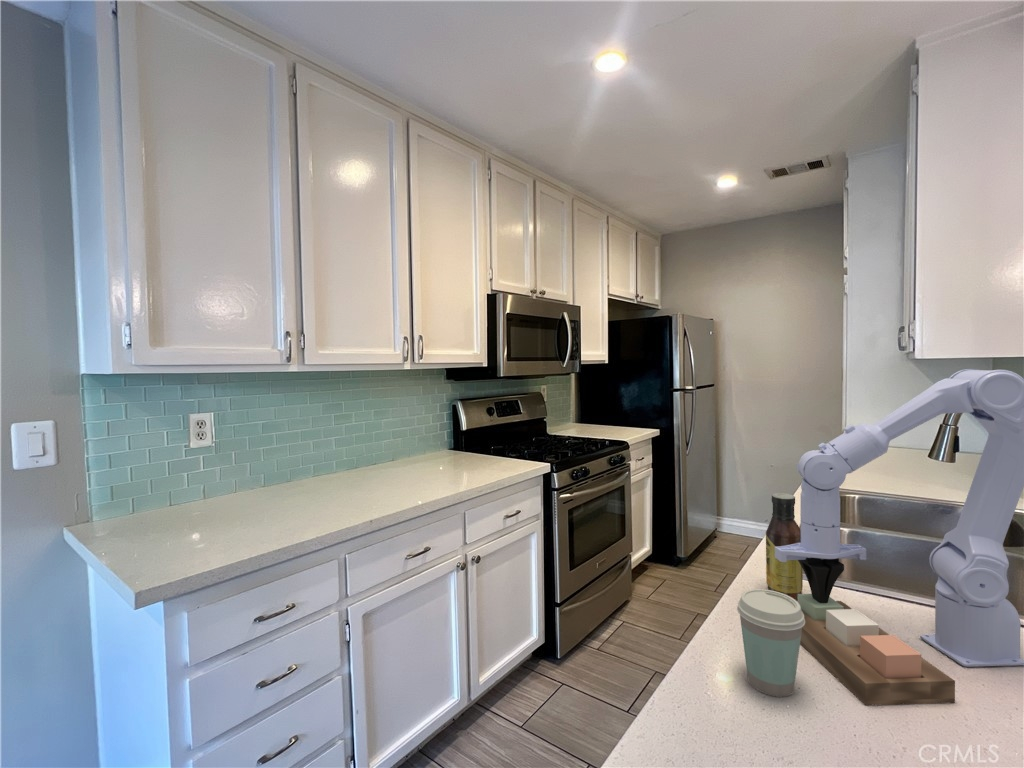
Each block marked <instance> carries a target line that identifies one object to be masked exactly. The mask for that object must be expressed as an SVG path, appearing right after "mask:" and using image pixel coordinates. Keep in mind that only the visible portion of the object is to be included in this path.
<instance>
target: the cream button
mask: <svg viewBox="0 0 1024 768" xmlns="http://www.w3.org/2000/svg"><path fill="white" fill-rule="evenodd" d="M879 626H880V625H879V624H878V623H876V622H875V621H873V620H872V619H871V618H870V617H868V616H866V615H865V614H863V613H862V612H860V611H859V610H858V609H856V608H852V609H838V610H826V630H827V631H828V632H829V633H830V634H832V635H833V636H834V637H835V638H837V639H838V640H839V641H840V642H841V643H843V644H844V645H845V646H846V647H850V646H860V636H872V635H879V628H880V627H879Z"/></svg>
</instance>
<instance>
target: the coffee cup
mask: <svg viewBox="0 0 1024 768" xmlns="http://www.w3.org/2000/svg"><path fill="white" fill-rule="evenodd" d="M736 610H737V613H738V614H739V617H740V619H739V620H740V627H741V635H742V641H743V650H744V651H743V652H744V658H745V666H746V667H745V668H746V673H747V681H748V683H750V685H751V686H752V687H753V688H754V689H756V690H757V691H759V692H761V693H763V694H765V695H768V696H773V697H778V698H779V697H782V698H784V697H788V696H790V695H792V694H793V693H794V691H795V690H794V689H795V682H796V679H797V678H796V676H797V669H798V662H799V654H800V646H801V644H800V640H801V632H802V627H803V626H804V625H805V619H804V614H803V612H802V610H801V607H800V604H799V603H798V600H797V599H793V598H792V597H790V596H788V595H785V594H783V593H780V592H776V591H771V590H768V589H766V588H765V589H763V588H756V589H748V590H745V591H743V592H742V593H741V595H740V598H739V600H738V601H737V606H736Z"/></svg>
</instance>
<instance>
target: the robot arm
mask: <svg viewBox="0 0 1024 768" xmlns="http://www.w3.org/2000/svg"><path fill="white" fill-rule="evenodd" d="M965 413H966V414H970V415H971V416H973V417H974V419H976V421H978V423H979V424H980V425H981V426H982V427H983V428H984V429H985V431H986V432H987V433H988V437H987V439H986V441H985V445H984V448H983V450H982V454H981V456H980V458H979V461H978V464H977V466H976V471H975V474H974V476H973V478H972V482H971V484H970V487H969V490H968V494H967V495H966V498H965V502H964V504H963V506H962V510H961V512H960V516H959V519H958V521H957V525H956V526H955V528H952V529H951V530H950V531H947V532H946V533H945V534H944V536H943V538H942V539H943V540H942V541H941V543H940V544H939V545H938V546H936V547H934V548H933V550H932V551H931V552H930V555H929V558H928V560H929V561H928V562H929V566H930V568H931V570H932V571H933V572H934V574H936V575H937V578H938V579H937V582H936V583H935V587H934V588H935V592H934V593H935V594H934V596H935V598H934V601H935V602H934V603H935V604H934V606H935V610H934V613H935V614H934V615H935V616H934V624H935V625H934V633H928V634H927V633H926V634H920V635H919V638H920V639H921V640H923V641H924V642H926V643H927V644H929V645H931V646H932V647H934V648H935V649H937V650H938V651H940V653H943V654H944V655H945V656H947V657H949V658H950V659H952V660H954V662H956V663H958V664H959V665H960V666H963V667H966V668H967V667H969V668H970V667H971V668H972V667H974V668H975V667H1001V666H1002V667H1003V666H1004V667H1005V666H1024V659H1023V658H1021V623H1022V622H1021V618H1020V615H1019V613H1018V610H1017V609H1016V607H1015V606H1014V604H1013V603H1011V602H1010V600H1008V598H1007V596H1008V594H1009V589H1010V584H1009V581H1008V578H1007V573H1008V569H1009V567H1010V566H1009V565H1010V563H1009V559H1008V557H1007V554H1006V551H1005V548H1004V541H1005V538H1006V536H1007V533H1008V531H1009V528H1010V525H1011V523H1012V520H1013V517H1014V514H1015V511H1016V509H1017V506H1018V504H1019V501H1020V498H1021V495H1022V493H1023V489H1024V378H1023V377H1022V376H1021V375H1019V374H1018V373H1016V372H1014V371H1011V370H1007V369H994V370H989V369H987V370H981V369H976V368H968V369H965V368H964V369H961V370H958V371H957V372H954V373H953V374H951V375H950V377H948V378H943V379H941V380H939V381H937V382H935V383H934V384H932V385H931V386H929V387H928V388H927V389H925V390H923V391H922V392H921V393H919V394H918V395H916V396H914V397H913V398H911V399H909V401H907V402H906V403H904V404H903V405H900V407H897V409H895V410H894V411H892V412H890V413H889V414H888V415H886V416H885V417H883V418H881V419H880V420H878V421H876V422H875V423H873V424H868V423H858V424H856V425H855V426H854V425H853V424H849V425H847V426H845V427H844V428H843V430H844V431H845V432H843V433H842V434H840V435H838V436H837V437H835V438H833V439H832V440H830V441H828V442H827V443H824V442H821V443H820V444H817V447H818V448H819V449H815V450H814V449H813V450H809V451H806V452H805V453H803V455H801V457H800V459H799V461H798V463H797V464H796V468H797V469H796V470H797V472H798V473H799V474H800V476H801V477H802V478H801V484H800V488H801V492H800V530H801V542H800V543H796V544H791V545H786V546H778V547H775V558H776V559H778V560H779V561H781V562H787V560H798V561H799V563H800V565H801V567H802V568H803V569H802V571H803V573H804V574H805V577H806V579H807V582H808V586H809V589H810V594H812V598H813V599H815V600H816V601H817V602H819V603H828V600H829V597H831V594H832V590H833V587H834V586H835V584H836V581H837V580H838V579H839V577H840V576H841V575H842V573H843V572H844V571H845V565H844V563H842V562H841V561H840V560H844V559H845V560H847V559H858V560H860V561H866V560H867V548H866V547H864V546H862V545H860V544H853V543H852V544H851V543H849V544H848V543H847V544H846V543H841V496H840V487H841V485H843V484H844V483H845V480H846V476H847V475H848V474H852V473H853V472H855V471H858V469H860V468H862V467H864V466H866V465H867V464H869V463H871V462H872V461H875V460H876V459H878V458H879V457H882V456H883V455H885V454H886V453H887V452H888V451H889V446H890V442H891V441H892V440H894V439H896V438H899V436H902V435H904V434H906V433H908V432H910V431H912V430H914V429H915V428H917V427H919V426H921V425H923V424H925V423H927V422H929V421H930V420H932V419H935V418H936V417H938V416H940V415H942V414H965ZM839 559H840V560H839ZM1006 598H1007V599H1006Z"/></svg>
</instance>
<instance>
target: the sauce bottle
mask: <svg viewBox="0 0 1024 768" xmlns="http://www.w3.org/2000/svg"><path fill="white" fill-rule="evenodd" d="M771 503H772V513H771V515H772V516H771V519H770V522H769V523H768V525H767V527H766V531H765V556H766V557H765V565H766V567H765V569H766V571H765V573H766V575H765V576H766V580H765V581H766V582H765V583H766V585H767V586H766V587H767V590H771V591H776V592H780V593H783V594H785V595H788V596H790V597H792V598H793V599H795V600H798V594H803V577H804V576H803V573H804V571H803V568H802V567H801V565H800V563H799V561H798V560H787V562H781V561H779V560H778V559H776V558H775V547H778V546H786V545H791V544H796V543H800V542H801V527H800V526H799V524H798V523H797V521H796V520H795V517H796V516H795V505H796V496H795V495H793V494H791V493H786V492H776V493H772V494H771Z"/></svg>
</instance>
